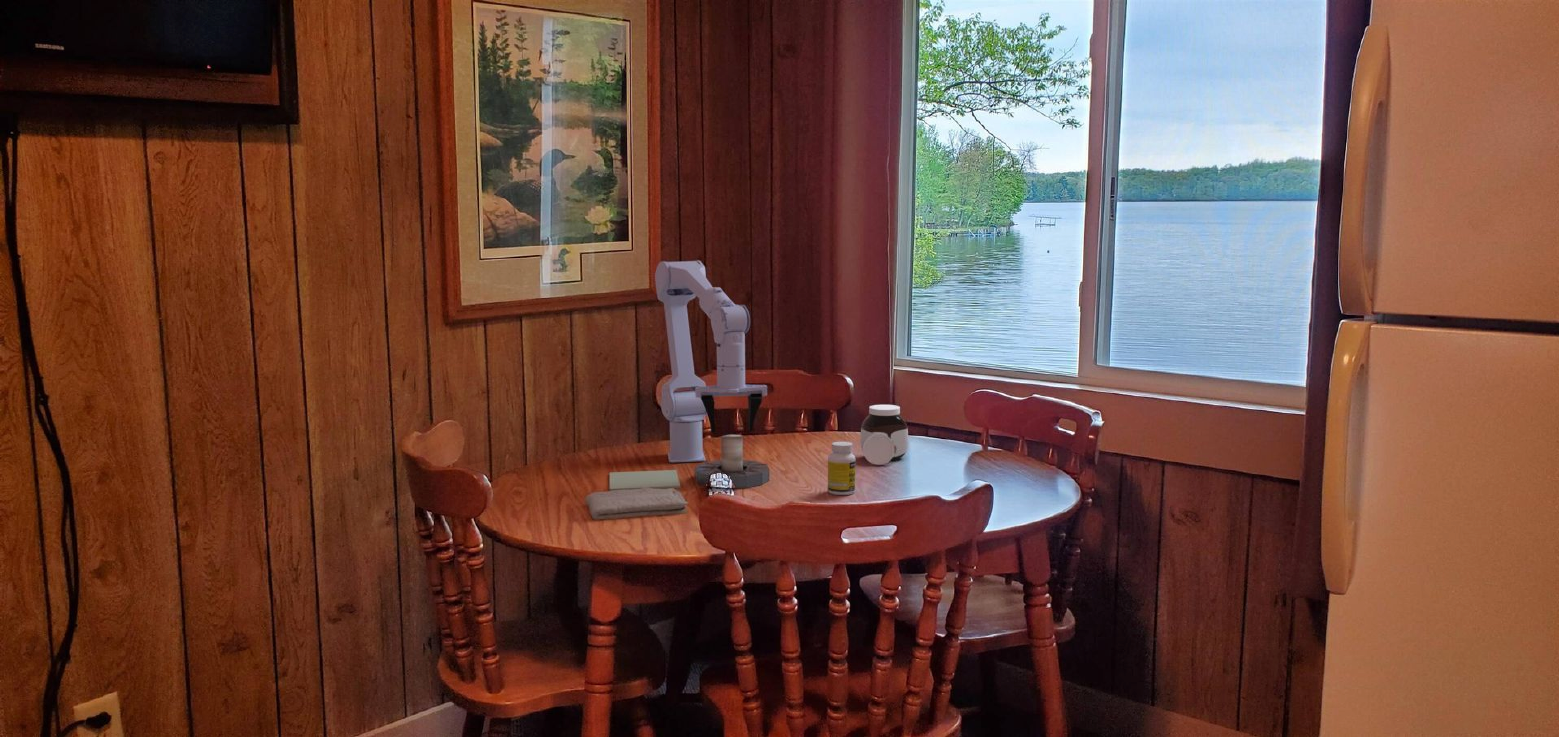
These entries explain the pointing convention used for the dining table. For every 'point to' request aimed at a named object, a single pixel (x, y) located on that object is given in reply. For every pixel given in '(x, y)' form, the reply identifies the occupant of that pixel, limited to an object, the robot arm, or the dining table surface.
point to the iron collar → (735, 473)
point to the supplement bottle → (841, 469)
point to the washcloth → (635, 503)
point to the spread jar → (884, 434)
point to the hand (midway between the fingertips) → (731, 431)
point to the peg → (732, 453)
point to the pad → (644, 480)
